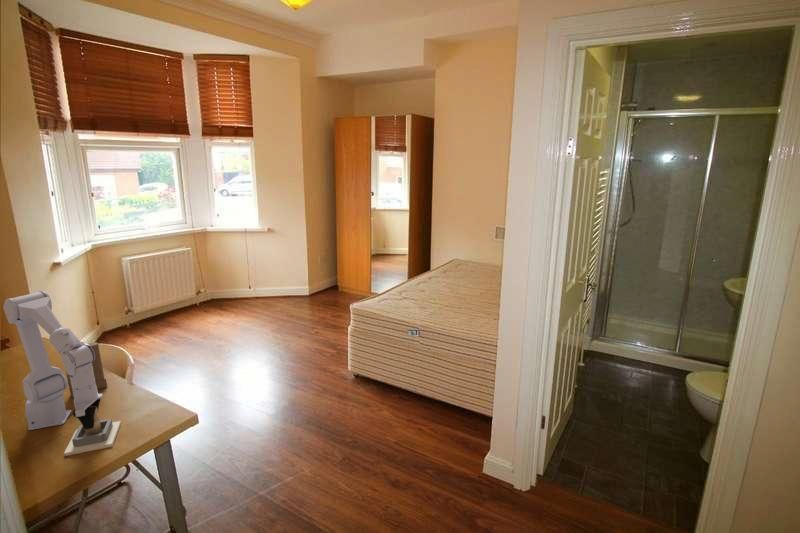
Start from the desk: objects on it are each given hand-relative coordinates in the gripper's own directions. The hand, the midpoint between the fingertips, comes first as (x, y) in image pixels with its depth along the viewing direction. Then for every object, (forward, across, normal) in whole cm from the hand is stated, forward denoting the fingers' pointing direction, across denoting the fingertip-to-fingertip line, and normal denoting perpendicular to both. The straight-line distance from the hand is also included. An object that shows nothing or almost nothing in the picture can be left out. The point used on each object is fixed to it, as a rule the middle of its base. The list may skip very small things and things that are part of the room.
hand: (91, 423), depth 129 cm
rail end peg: (+3, 0, 0) cm, 3 cm away
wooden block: (+6, +33, +9) cm, 35 cm away
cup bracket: (+5, 0, 0) cm, 5 cm away
